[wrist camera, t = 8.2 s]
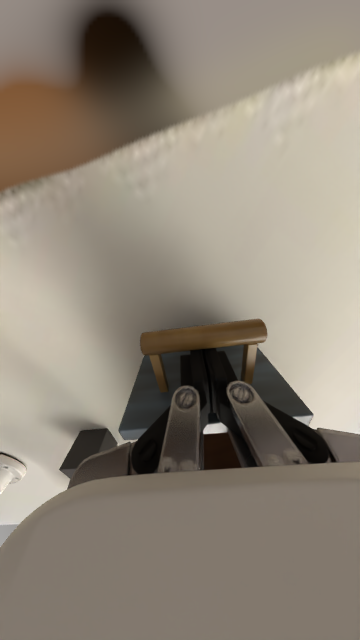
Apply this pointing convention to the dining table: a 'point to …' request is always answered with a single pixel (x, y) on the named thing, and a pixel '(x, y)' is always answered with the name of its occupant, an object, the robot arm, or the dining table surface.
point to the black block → (87, 448)
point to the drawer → (164, 379)
